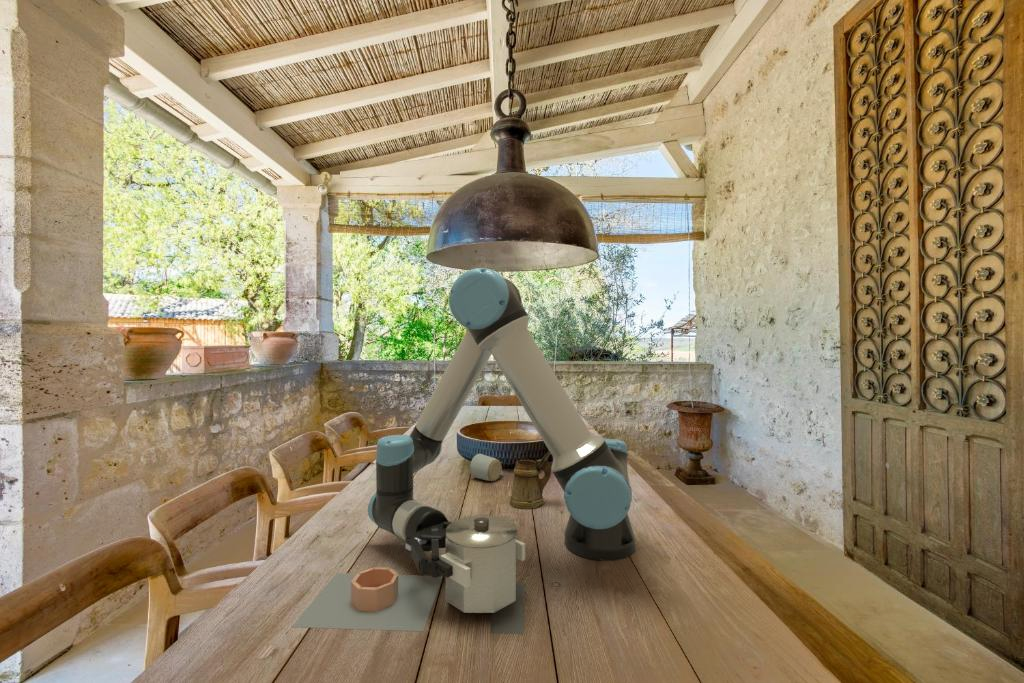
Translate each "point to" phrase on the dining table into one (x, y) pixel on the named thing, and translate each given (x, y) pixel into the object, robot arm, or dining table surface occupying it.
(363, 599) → the bowl
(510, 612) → the rubber mat
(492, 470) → the ceramic mug
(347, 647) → the dining table surface
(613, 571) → the dining table surface
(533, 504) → the wooden mug
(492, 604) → the stockpot with side handles
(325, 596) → the serving board
